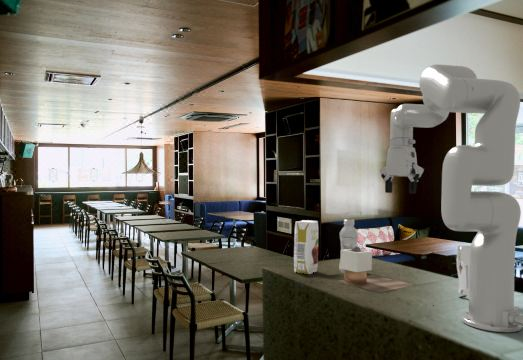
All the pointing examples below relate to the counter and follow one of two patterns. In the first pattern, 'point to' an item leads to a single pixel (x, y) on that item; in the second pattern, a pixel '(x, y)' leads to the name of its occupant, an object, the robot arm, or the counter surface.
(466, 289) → the beer glass
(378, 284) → the post board
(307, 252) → the juice carton
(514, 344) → the counter surface
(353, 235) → the plastic bottle
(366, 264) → the hollow square frame
